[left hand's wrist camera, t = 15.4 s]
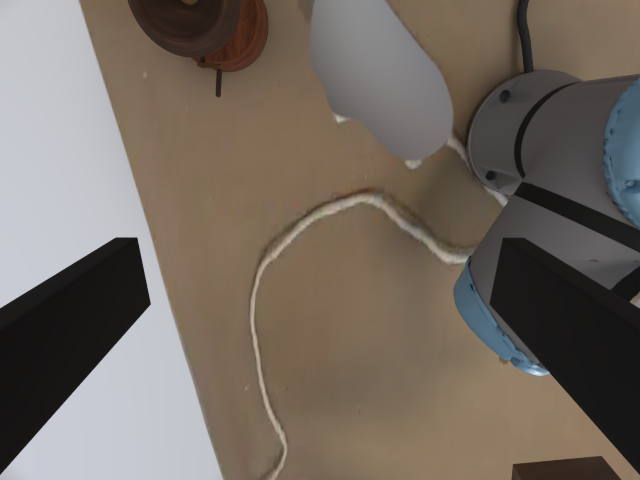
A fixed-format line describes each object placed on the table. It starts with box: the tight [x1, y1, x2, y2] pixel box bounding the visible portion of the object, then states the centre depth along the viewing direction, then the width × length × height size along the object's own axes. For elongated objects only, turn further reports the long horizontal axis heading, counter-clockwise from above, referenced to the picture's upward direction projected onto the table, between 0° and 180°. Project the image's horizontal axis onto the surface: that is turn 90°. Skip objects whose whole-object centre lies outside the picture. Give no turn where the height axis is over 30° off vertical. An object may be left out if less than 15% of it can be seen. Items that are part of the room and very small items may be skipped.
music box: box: [128, 0, 268, 97], centre depth 31 cm, size 15×11×20 cm
